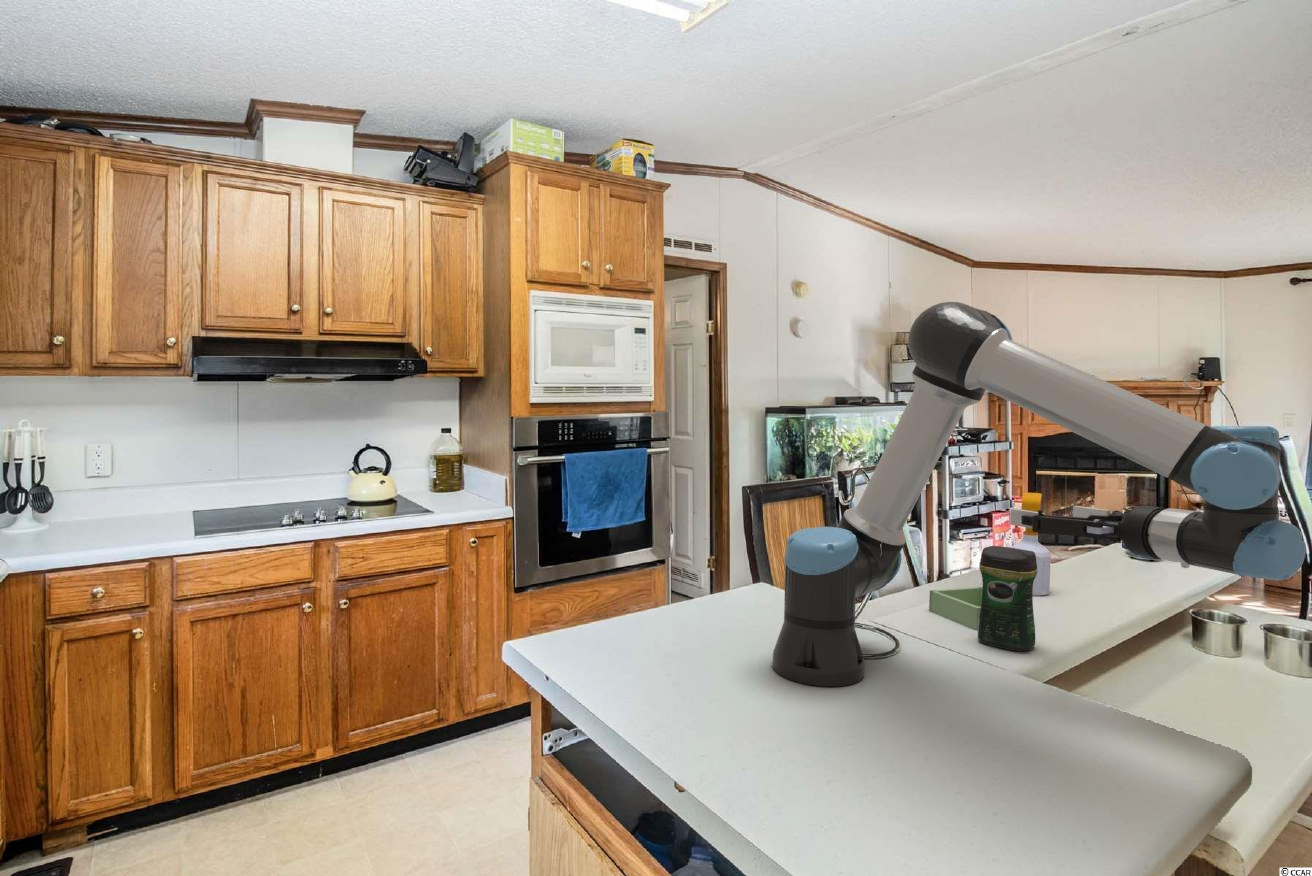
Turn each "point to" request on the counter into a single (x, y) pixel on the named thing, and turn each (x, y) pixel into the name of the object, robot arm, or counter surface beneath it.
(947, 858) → the counter surface
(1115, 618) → the counter surface
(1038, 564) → the soap bottle
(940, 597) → the green tray
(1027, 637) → the coffee jar
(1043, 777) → the counter surface
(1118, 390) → the robot arm
